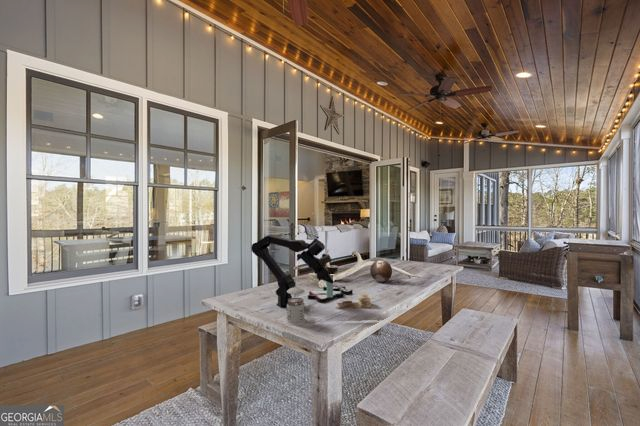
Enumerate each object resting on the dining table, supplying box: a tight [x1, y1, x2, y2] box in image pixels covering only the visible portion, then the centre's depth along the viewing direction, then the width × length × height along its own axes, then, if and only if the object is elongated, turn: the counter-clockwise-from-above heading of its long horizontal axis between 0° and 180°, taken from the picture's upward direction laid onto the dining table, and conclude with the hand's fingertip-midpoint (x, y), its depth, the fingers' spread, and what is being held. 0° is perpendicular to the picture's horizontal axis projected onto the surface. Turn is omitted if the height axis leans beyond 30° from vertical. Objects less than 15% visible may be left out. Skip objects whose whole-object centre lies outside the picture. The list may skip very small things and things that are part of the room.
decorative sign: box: [307, 284, 354, 304], centre depth 177 cm, size 18×4×30 cm
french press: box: [284, 266, 307, 326], centre depth 139 cm, size 10×12×25 cm
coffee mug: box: [324, 264, 339, 275], centre depth 217 cm, size 12×9×10 cm
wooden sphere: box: [369, 259, 393, 283], centre depth 213 cm, size 15×15×15 cm
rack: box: [336, 294, 372, 310], centre depth 158 cm, size 16×10×6 cm, turn 95°
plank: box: [326, 275, 334, 298], centre depth 156 cm, size 3×2×11 cm
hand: (332, 281), depth 156 cm, fingers closed on plank, 2 cm apart
